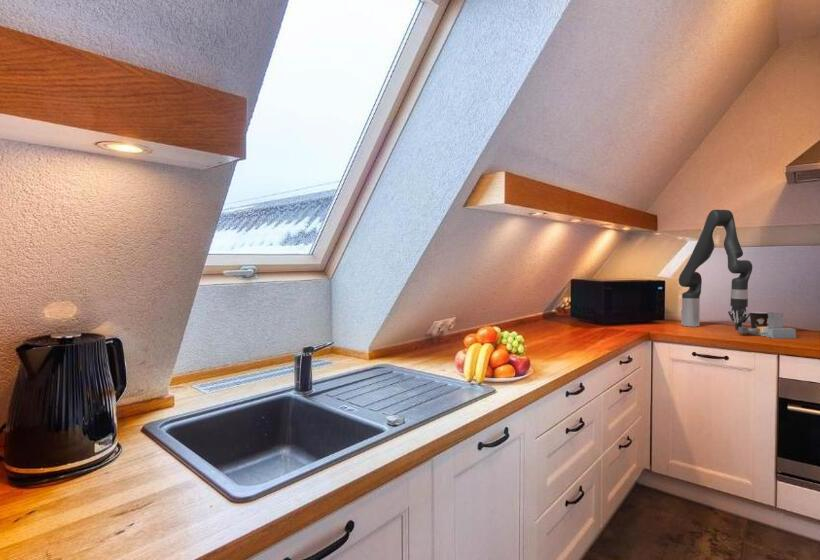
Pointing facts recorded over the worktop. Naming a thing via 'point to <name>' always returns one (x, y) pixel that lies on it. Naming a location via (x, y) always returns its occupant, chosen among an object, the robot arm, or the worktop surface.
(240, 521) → the worktop surface
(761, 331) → the vise jaw
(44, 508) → the worktop surface
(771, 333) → the vise
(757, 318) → the coffee mug
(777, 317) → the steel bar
